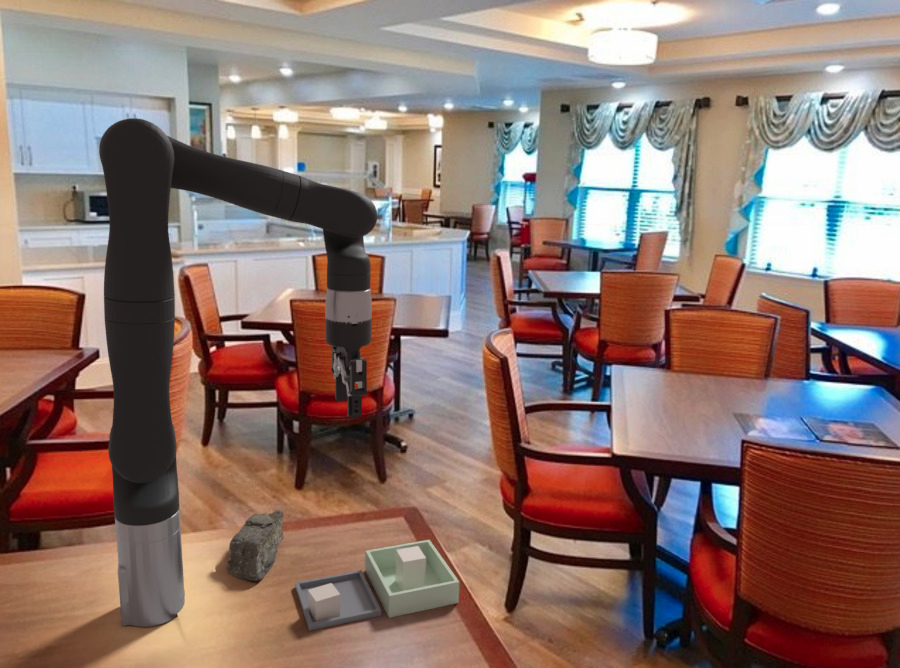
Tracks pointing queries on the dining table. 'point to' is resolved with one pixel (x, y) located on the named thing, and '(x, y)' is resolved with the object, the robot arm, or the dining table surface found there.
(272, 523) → the rock
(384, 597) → the green bin
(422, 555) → the off-white rectangular block
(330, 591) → the smooth off-white cube
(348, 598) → the slate tray
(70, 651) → the dining table surface
